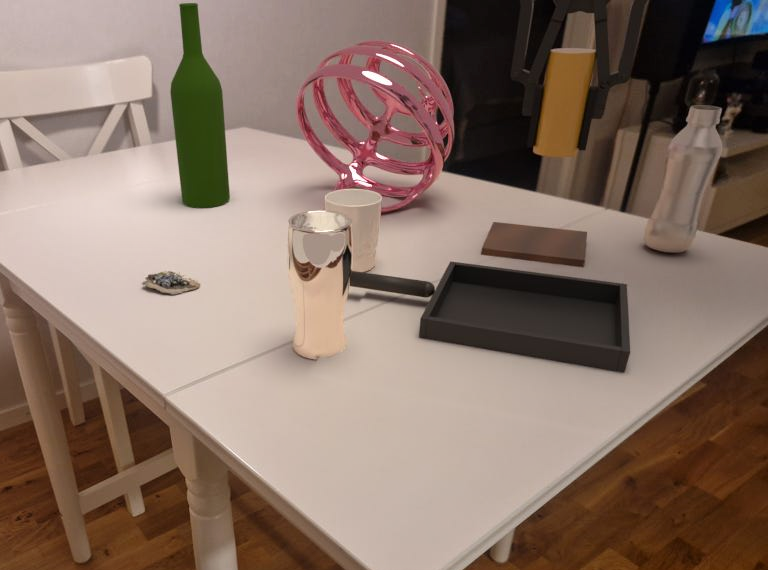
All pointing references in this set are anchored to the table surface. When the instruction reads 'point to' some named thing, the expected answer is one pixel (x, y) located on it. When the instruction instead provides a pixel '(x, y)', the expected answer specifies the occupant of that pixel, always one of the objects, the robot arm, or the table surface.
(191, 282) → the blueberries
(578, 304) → the pan
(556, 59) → the canister
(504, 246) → the board
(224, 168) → the wine bottle
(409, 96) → the spiral basket
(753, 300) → the table surface
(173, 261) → the table surface
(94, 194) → the table surface
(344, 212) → the white cup
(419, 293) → the pan handle
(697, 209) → the plastic bottle
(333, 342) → the beer glass
